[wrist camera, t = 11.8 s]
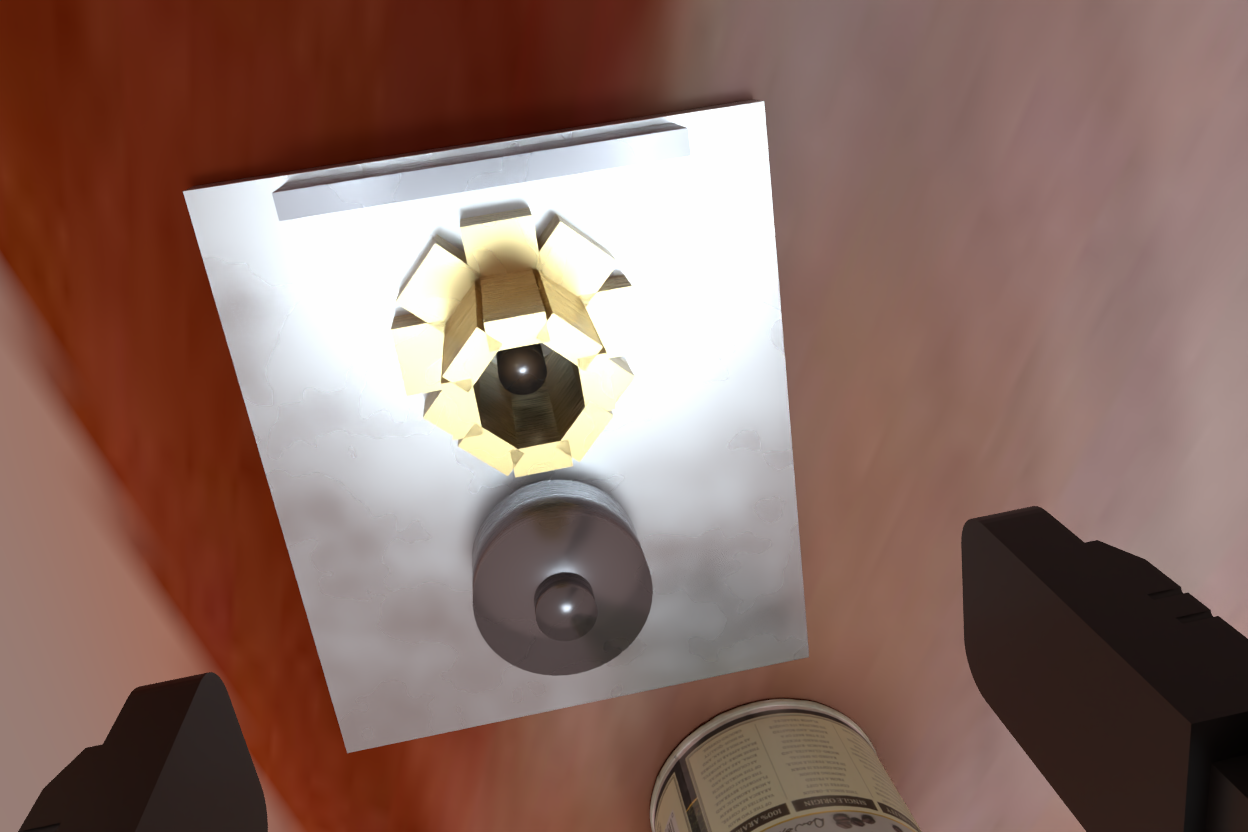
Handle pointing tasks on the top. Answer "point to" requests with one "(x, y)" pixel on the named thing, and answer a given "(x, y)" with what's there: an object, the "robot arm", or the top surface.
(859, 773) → the coffee can
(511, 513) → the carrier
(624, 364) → the gear
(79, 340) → the top surface
